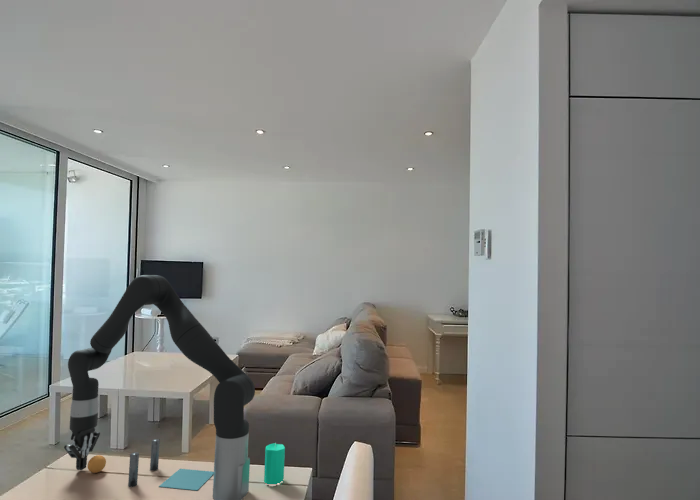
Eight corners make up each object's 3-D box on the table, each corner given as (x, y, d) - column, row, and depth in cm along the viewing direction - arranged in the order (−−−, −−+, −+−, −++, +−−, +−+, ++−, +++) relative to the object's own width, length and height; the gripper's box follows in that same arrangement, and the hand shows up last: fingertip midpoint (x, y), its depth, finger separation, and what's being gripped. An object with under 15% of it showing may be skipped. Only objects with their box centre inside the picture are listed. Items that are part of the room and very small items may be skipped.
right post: (159, 467, 138) (161, 439, 139) (155, 471, 136) (157, 442, 137) (152, 467, 139) (154, 438, 139) (148, 470, 136) (150, 441, 137)
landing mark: (215, 472, 136) (215, 471, 136) (197, 490, 124) (197, 490, 124) (180, 469, 138) (180, 468, 138) (158, 486, 126) (158, 486, 126)
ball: (109, 469, 136) (110, 453, 137) (97, 476, 131) (99, 459, 132) (94, 468, 137) (95, 451, 137) (83, 475, 132) (84, 458, 132)
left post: (138, 483, 128) (140, 452, 128) (133, 487, 125) (135, 455, 126) (131, 482, 128) (133, 451, 129) (126, 486, 126) (128, 455, 126)
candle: (279, 487, 128) (281, 446, 129) (260, 485, 129) (262, 444, 130) (286, 478, 134) (288, 439, 134) (268, 476, 135) (270, 437, 136)
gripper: (79, 419, 129) (76, 479, 128) (109, 407, 142) (106, 461, 141) (56, 418, 130) (53, 477, 128) (88, 405, 143) (85, 459, 142)
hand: (81, 468), depth 135 cm, fingers closed
